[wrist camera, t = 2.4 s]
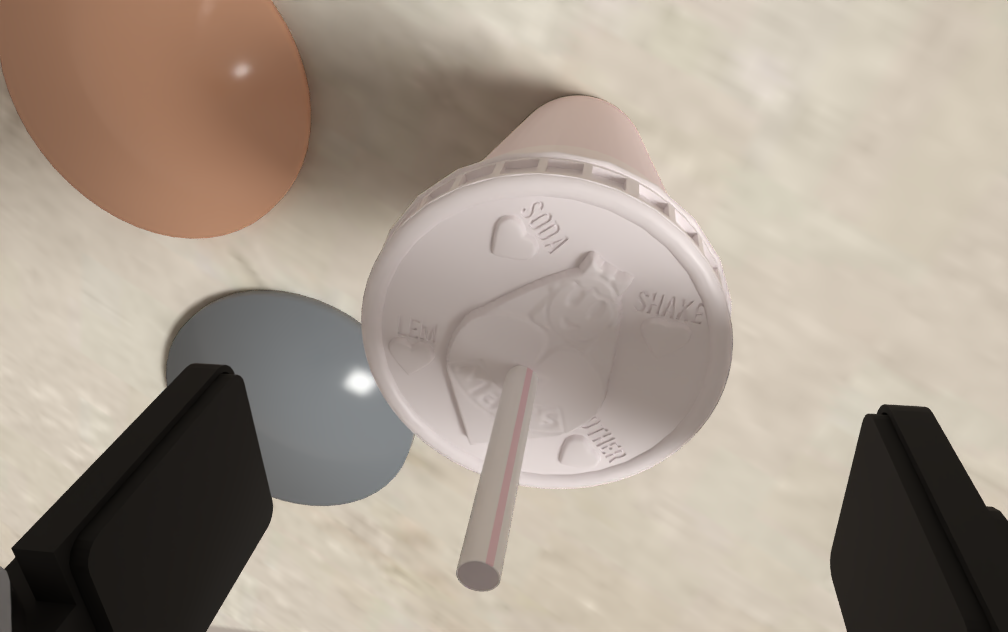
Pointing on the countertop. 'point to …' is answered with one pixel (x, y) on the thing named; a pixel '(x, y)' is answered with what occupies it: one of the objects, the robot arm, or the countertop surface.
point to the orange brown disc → (162, 105)
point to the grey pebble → (301, 393)
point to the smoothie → (548, 317)
